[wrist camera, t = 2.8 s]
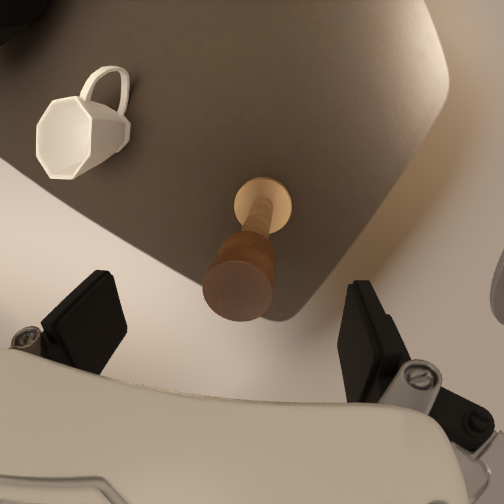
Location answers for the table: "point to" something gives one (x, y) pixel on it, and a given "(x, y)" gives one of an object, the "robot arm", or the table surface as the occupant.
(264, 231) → the brown long flanged bar
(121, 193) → the table surface
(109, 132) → the cup
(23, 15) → the table lamp
